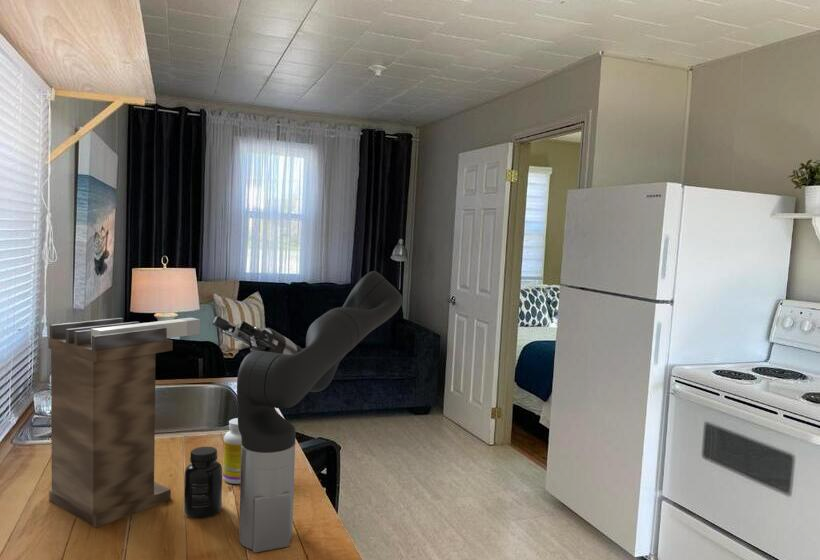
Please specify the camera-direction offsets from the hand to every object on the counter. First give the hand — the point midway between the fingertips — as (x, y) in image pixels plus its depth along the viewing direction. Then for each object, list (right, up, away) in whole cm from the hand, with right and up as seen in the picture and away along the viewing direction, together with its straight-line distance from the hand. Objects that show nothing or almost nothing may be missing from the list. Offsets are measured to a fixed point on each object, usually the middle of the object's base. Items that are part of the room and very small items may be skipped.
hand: (227, 322), depth 135 cm
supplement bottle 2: (+3, -34, -2) cm, 34 cm away
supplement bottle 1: (+1, -35, -18) cm, 39 cm away
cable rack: (-19, -34, -15) cm, 41 cm away
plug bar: (-10, -2, -16) cm, 19 cm away
